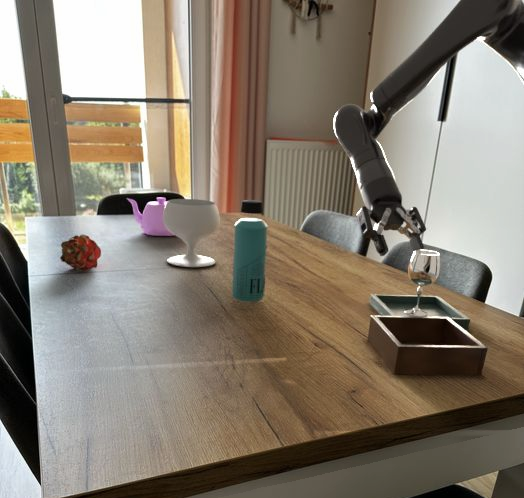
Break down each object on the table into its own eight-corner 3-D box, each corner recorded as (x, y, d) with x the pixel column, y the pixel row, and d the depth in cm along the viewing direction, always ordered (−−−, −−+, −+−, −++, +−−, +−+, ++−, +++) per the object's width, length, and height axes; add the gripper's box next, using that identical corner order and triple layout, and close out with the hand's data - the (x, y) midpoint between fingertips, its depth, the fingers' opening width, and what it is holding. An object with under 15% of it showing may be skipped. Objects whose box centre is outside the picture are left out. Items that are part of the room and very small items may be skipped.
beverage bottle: (248, 311, 98) (253, 203, 90) (224, 303, 102) (227, 198, 94) (270, 305, 102) (277, 201, 95) (246, 297, 106) (251, 197, 99)
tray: (436, 305, 109) (438, 295, 108) (468, 330, 95) (470, 319, 95) (369, 303, 107) (370, 294, 106) (392, 328, 94) (394, 317, 93)
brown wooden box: (443, 341, 89) (448, 316, 87) (481, 375, 77) (488, 347, 75) (367, 340, 88) (370, 315, 86) (393, 374, 75) (398, 346, 73)
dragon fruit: (74, 282, 114) (83, 276, 126) (105, 260, 114) (112, 256, 125) (48, 250, 112) (60, 247, 123) (80, 228, 111) (89, 226, 123)
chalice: (164, 269, 123) (163, 205, 117) (162, 256, 136) (161, 197, 130) (222, 269, 126) (224, 207, 120) (215, 256, 139) (216, 199, 133)
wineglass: (398, 314, 100) (409, 253, 95) (402, 306, 105) (412, 247, 100) (429, 319, 98) (441, 257, 93) (432, 311, 103) (443, 251, 98)
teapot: (128, 228, 169) (127, 193, 164) (190, 230, 172) (190, 196, 168) (126, 236, 157) (124, 199, 152) (192, 238, 160) (192, 201, 156)
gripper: (357, 174, 102) (382, 243, 97) (415, 176, 107) (442, 242, 102) (340, 198, 109) (363, 264, 104) (396, 198, 114) (420, 262, 109)
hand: (402, 253), depth 103 cm, fingers open, 8 cm apart
